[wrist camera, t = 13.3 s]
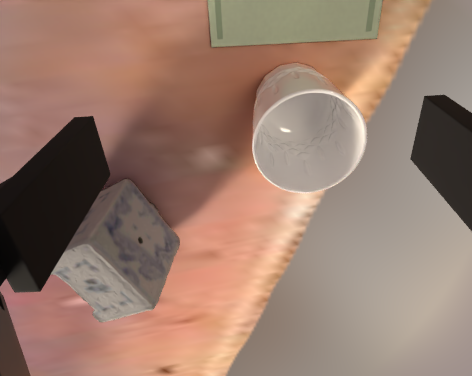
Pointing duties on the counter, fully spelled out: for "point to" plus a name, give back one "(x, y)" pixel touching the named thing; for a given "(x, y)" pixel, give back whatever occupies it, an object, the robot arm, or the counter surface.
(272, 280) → the counter surface
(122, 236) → the incense holder
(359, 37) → the napkin
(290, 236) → the counter surface
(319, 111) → the white cup
